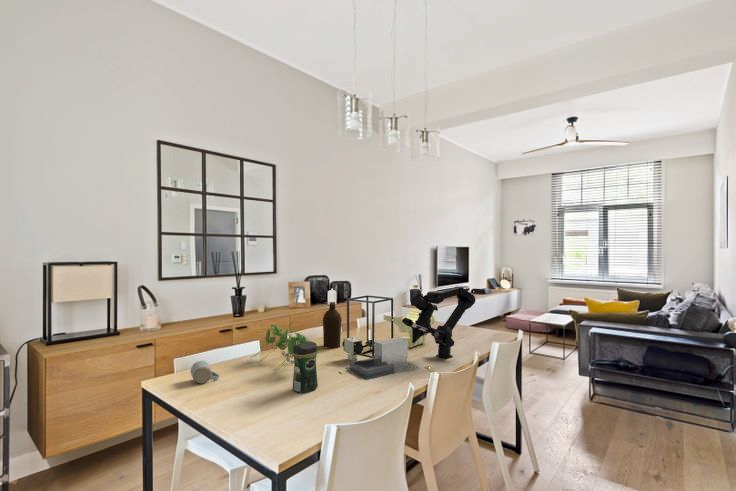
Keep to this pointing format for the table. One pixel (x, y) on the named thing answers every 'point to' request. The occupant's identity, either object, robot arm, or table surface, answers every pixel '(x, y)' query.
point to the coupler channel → (375, 369)
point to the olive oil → (332, 327)
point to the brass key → (429, 368)
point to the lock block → (391, 352)
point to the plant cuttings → (284, 341)
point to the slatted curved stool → (404, 328)
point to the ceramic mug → (202, 372)
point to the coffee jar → (305, 367)
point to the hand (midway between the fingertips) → (413, 343)
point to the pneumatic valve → (352, 347)
